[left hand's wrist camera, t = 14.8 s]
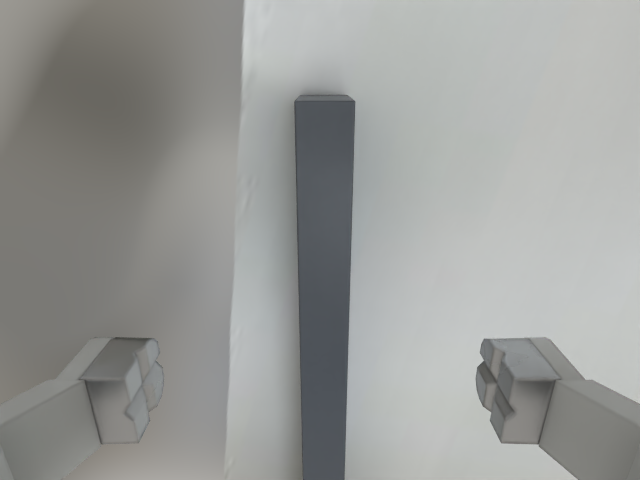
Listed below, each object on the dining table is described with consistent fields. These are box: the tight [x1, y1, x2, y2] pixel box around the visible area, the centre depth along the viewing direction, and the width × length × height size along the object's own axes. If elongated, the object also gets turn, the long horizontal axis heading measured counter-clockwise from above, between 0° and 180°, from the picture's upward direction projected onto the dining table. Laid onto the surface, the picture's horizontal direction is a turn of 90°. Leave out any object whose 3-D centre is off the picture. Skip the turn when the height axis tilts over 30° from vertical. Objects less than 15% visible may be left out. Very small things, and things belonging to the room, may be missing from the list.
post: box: [294, 95, 355, 480], centre depth 41 cm, size 52×4×8 cm, turn 0°
